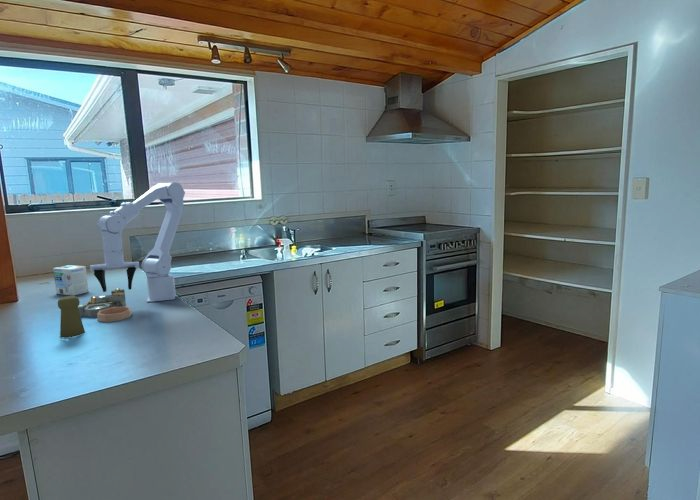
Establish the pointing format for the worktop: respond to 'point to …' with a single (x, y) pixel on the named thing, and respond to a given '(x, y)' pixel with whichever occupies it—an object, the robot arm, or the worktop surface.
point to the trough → (100, 303)
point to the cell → (118, 297)
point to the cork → (70, 317)
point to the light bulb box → (71, 280)
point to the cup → (114, 314)
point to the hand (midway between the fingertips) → (117, 290)
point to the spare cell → (101, 299)
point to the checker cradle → (92, 312)
